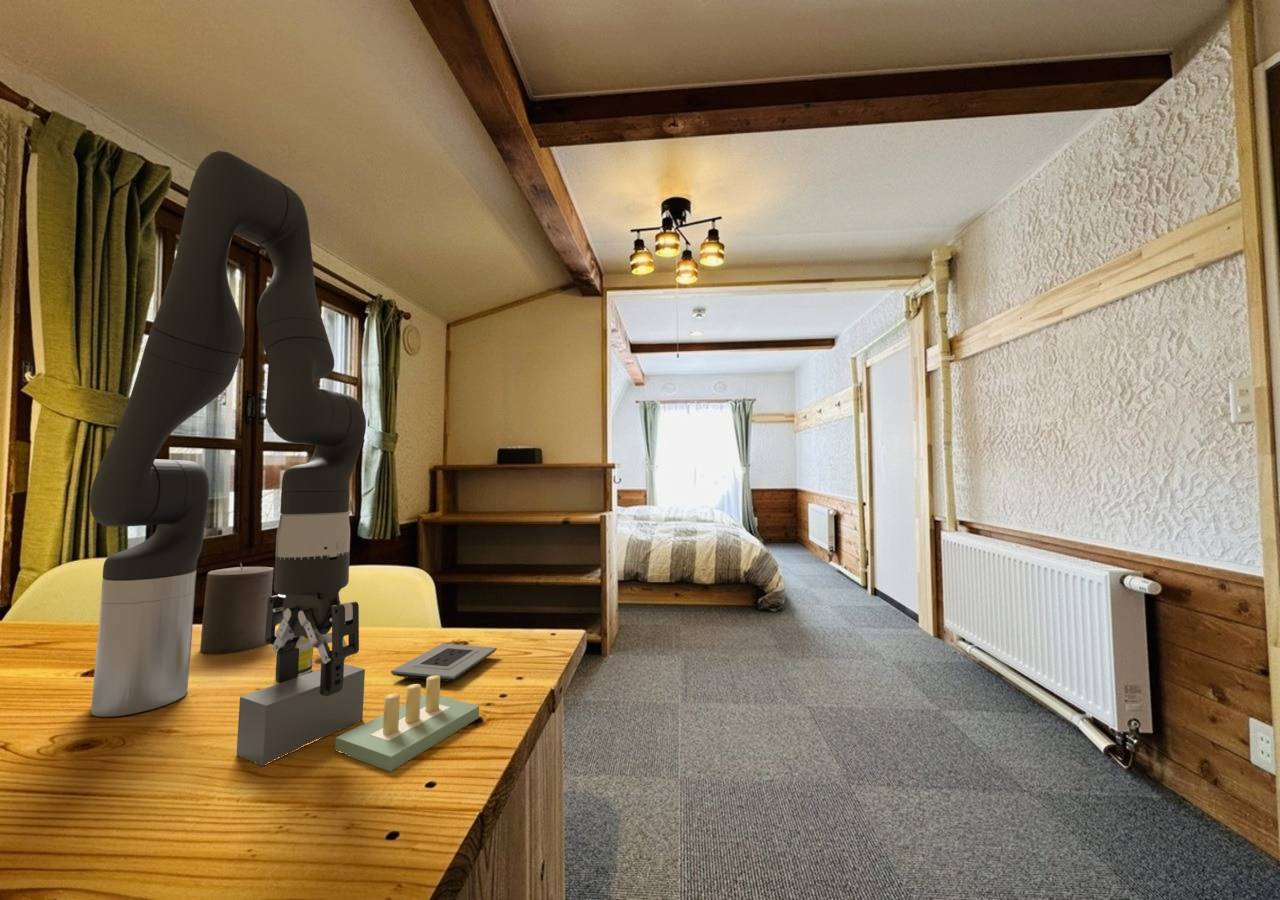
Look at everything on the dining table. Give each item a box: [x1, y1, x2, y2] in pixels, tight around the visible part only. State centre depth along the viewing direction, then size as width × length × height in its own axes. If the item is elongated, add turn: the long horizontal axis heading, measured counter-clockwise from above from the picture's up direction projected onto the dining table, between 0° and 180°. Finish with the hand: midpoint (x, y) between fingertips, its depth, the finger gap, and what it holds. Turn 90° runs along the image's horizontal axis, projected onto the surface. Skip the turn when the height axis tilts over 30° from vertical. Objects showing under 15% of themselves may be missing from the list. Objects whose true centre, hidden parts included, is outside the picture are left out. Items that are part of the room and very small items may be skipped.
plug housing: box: [235, 663, 366, 767], centre depth 58 cm, size 5×11×6 cm, turn 156°
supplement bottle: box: [275, 637, 314, 677], centre depth 77 cm, size 5×5×8 cm
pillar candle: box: [199, 562, 275, 655], centre depth 90 cm, size 10×10×15 cm
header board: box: [334, 675, 480, 772], centre depth 59 cm, size 9×13×6 cm
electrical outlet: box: [390, 642, 497, 682], centre depth 79 cm, size 13×10×2 cm
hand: (308, 687), depth 58 cm, fingers open, 8 cm apart
